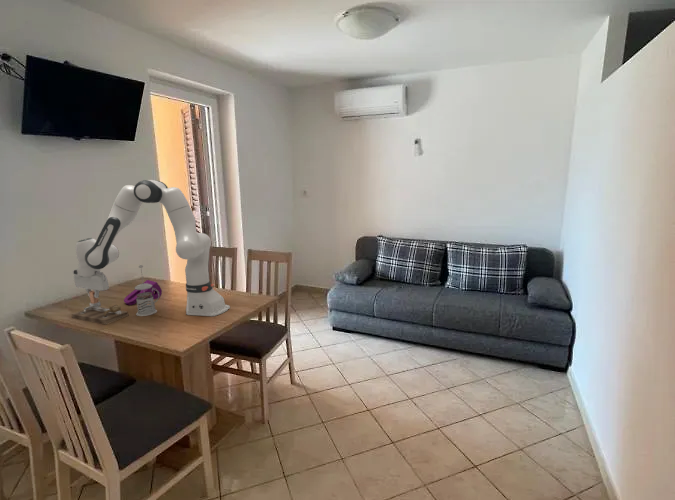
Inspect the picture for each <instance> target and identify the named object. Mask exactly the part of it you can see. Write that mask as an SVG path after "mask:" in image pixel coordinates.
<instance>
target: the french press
mask: <svg viewBox="0 0 675 500" xmlns="http://www.w3.org/2000/svg"><path fill="white" fill-rule="evenodd" d="M143 267H144V265H143V264H139V266H138V268H139V269H140V272H141V274H143V272H142V269H143ZM141 279H142V281H141V282H142V283H140V284H137V285H136V286H134V290H135V289H136V290H145V289H149V288H151V287H152V285H151V284H147V283H144V281H143V280H144V278H143V276H141ZM154 290H155V288H154ZM152 291H153V288H152ZM156 291H157V292H158V290H157V289H156ZM136 296H137V298H136V300H137V303H136V306H137V312H136V313H135V315H136V316H137V317H138V316H139V317H145V316H151V315H154V314H156V313H158V310H157V309H156V305H155V303H156V302H158V300H159V298H160V297H158V298H157V299H153V295H152V293H151V292H145V293H140V294H137V295H136ZM158 296H159V292H158ZM148 297H151V298H148Z"/></svg>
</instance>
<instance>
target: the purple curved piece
mask: <svg viewBox="0 0 675 500" xmlns="http://www.w3.org/2000/svg"><path fill="white" fill-rule="evenodd" d="M143 283H147V284H151V285H152V287H151V288H149V289H145V290H136V289H135V288H134V290H133V291H131V292H130V293H129V294H128V295H126V296H125V297H124V299H123V302H124V303H125V305H127V306H132V305H135V304H137V300H136V298H137V296H136V295H137V294H140V293H145V292H151V293H152V295H153V299H154V300H157V299H158V297H159V298H160V297H161V296H162V292H163V290H162V288H161V286H160V285H159V283H158V282H157V281H154V280H149V279H146V280H145V281H143ZM152 288H153V291H152ZM154 288H155V290H154ZM156 289H157V290H158V292H159V296H158V292H157V291H156ZM147 298H151V297H147Z"/></svg>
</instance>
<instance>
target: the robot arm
mask: <svg viewBox="0 0 675 500" xmlns="http://www.w3.org/2000/svg"><path fill="white" fill-rule="evenodd" d="M143 203H145V204H156V203H160V204H161V205H163V207H164V209H165V212H166V213H167V215H168V216H167V217H169V221H170V223H171V225H172V228H173V232H174V235H175V240H176V246H175V253H176V255H177V256H178V257H179V258H181V259H182V260H186V265H185V269H184V272H185V282H186V283H185V291H186V306H185V307H186V308H185V311H186V312H185V315H187V316H199V317H200V316H202V317H216V316H218V315H221V314H223V313H225V312H227V311H229V310H230V309H231V306H230V305H229V304H226V303H225V302H226V301H225V298H224V296H222V295H221V294H219V292H218V291H216V290H215V289H214V288H213V287H214V285H215V284H214V283H211V281H210V274H209V259H210V251H211V245H212V240H211V238H210V236H209V235H208V234H207V233H203V232H198V231H197V227H196V226H197V225H196V223H197V221H196V216H195V215H194V212H193V211H192V209H191V206H190V204H189V201H188V199H187V198H186V196H185V195H184V193H183V191H182V190H181V189H180V188H179V187H173V186H171V187H168V185H167V184H166V183H164V182H163V181H160V180H154V179H143V180H141V181H138V182H137V183H135V185H132V184H126V185H124V186H122V188H121V189H120V190H119V192H118V194H117V196H116V197H115V199H114V201H113V204H112V206H111V209H110V212H109V215H108V217H107V219H106V220H105V223H104V225H103V227H102V229H101V231H100V233H99V235H98V237H97V239H95V238H92V237H88V238H83V239H81V240H78V241H76V244H75V252H76V253H75V255H76V259H77V260H78V261H77V262H78V264H77V267H78V268H75V269H73V270H72V274H73V279H74V280H73V281H74V285H75V287H76V288H78V289H79V288H80V289H85V292H86V293H87V295H88V297H89V298H90V294H89V292H90V291H93V290H94V292H95V294H94V298H98V299H99V298H100V292H104V291H107V290H109V288H110V285H109V280H108V278H107V276H106V274H104V272H102V271H101V270H102V269H104V268H106V267H107V266H108V265H110V264H111V263H113V262H115V261H116V260H118V258H119V256H120V251H119V249H118V247H117V246H116V245H114V244H113V243H114V241H115V238H116V237H117V236H118V234H119V233H120V232H121V231H122V230H124V229H125V228H126V227H128V226H130V224H132V222H133V221H135V218H136V217H137V215H138V213H139V210H140V208H141V207H142V204H143ZM228 309H229V310H228Z"/></svg>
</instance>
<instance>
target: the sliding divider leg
mask: <svg viewBox="0 0 675 500" xmlns="http://www.w3.org/2000/svg"><path fill="white" fill-rule="evenodd" d="M89 294H90V297H89V299H90V302H89V306H87V307H83V310H84V313H86V310H87V309H90V308H97V307H102V305H101V301H99V297H98V298H94V294H95V292H94V290H91V291H90V292H89Z"/></svg>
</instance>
